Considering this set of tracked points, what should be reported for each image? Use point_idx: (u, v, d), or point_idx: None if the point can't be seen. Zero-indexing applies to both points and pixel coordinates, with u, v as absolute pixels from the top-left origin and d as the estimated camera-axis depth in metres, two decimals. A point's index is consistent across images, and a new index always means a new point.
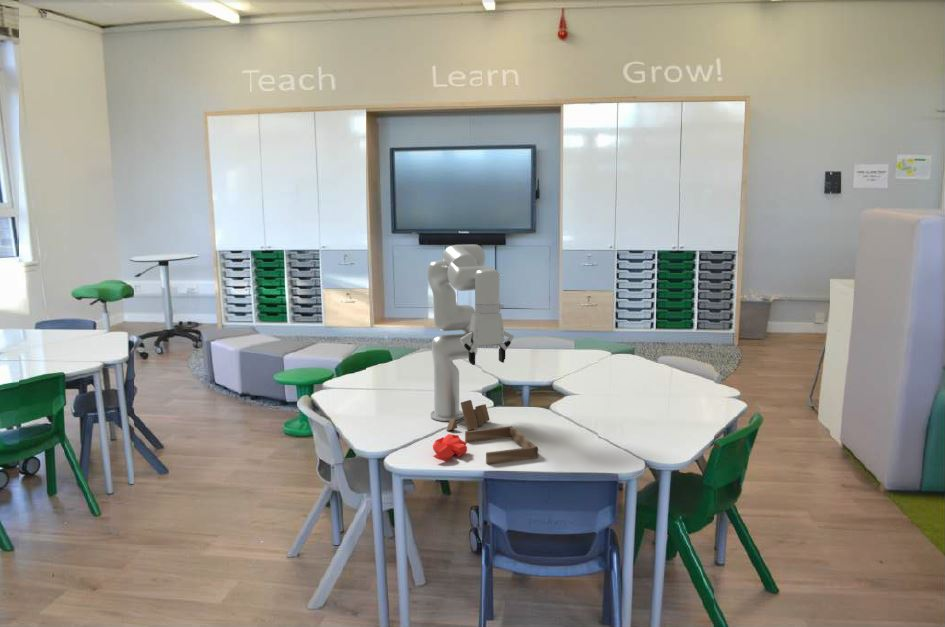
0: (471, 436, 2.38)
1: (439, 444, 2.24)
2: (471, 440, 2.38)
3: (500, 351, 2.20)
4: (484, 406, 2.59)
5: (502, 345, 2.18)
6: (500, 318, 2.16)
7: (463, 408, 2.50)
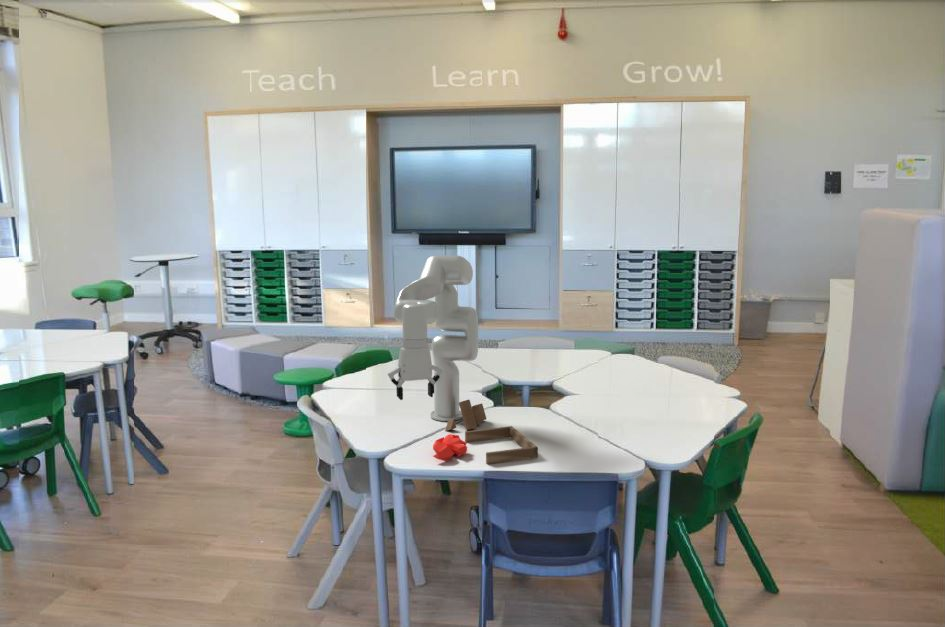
0: (471, 436, 2.38)
1: (439, 444, 2.24)
2: (471, 440, 2.38)
3: (429, 385, 2.18)
4: (481, 405, 2.60)
5: (430, 379, 2.17)
6: (428, 353, 2.15)
7: (462, 408, 2.50)
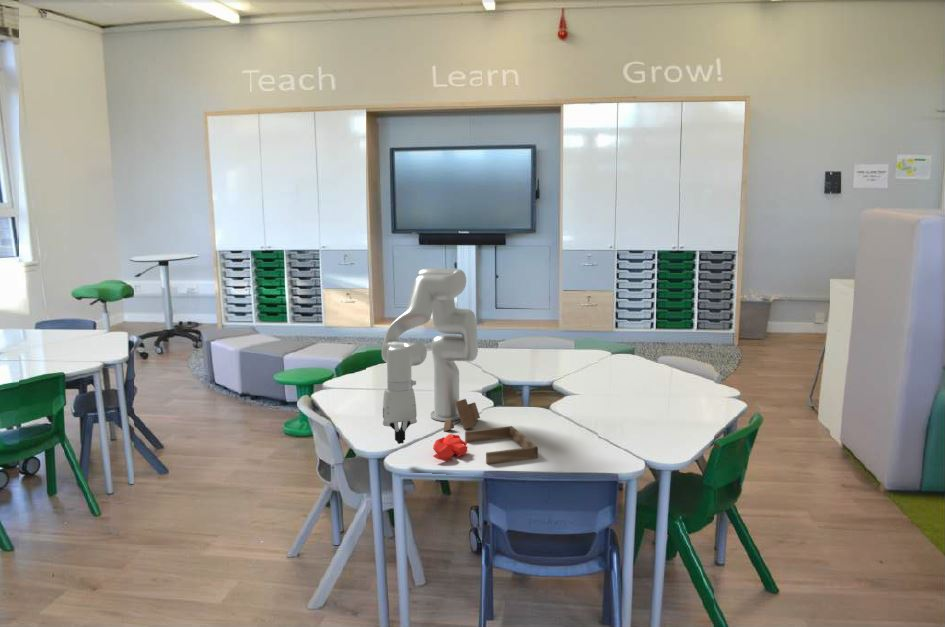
0: (471, 436, 2.38)
1: (439, 444, 2.24)
2: (471, 440, 2.38)
3: None
4: (474, 404, 2.61)
5: (404, 425, 2.17)
6: (412, 395, 2.16)
7: (459, 407, 2.51)
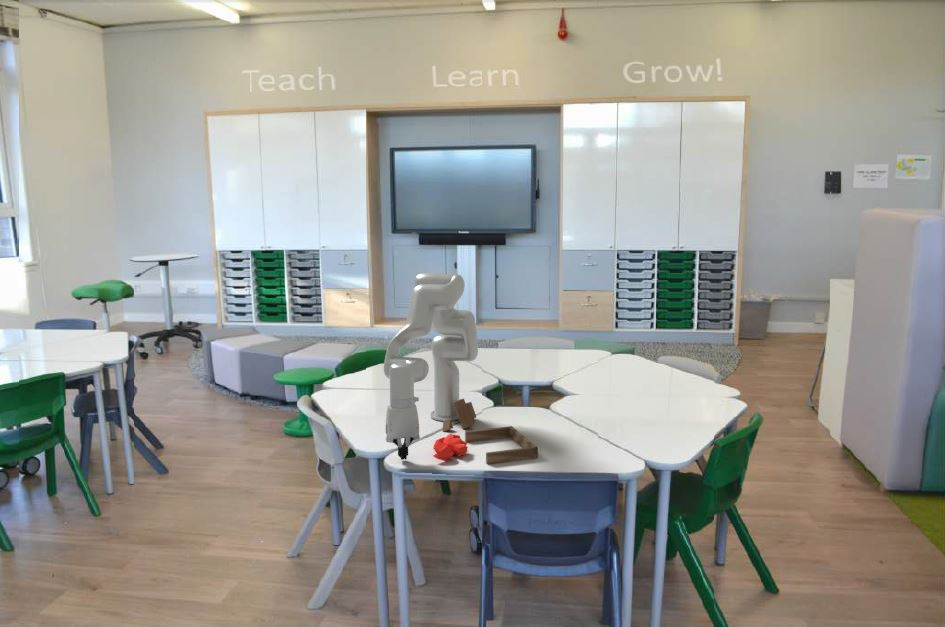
0: (471, 436, 2.38)
1: (439, 444, 2.24)
2: (471, 440, 2.38)
3: None
4: (470, 404, 2.62)
5: (407, 441, 2.19)
6: (415, 411, 2.17)
7: (457, 407, 2.51)
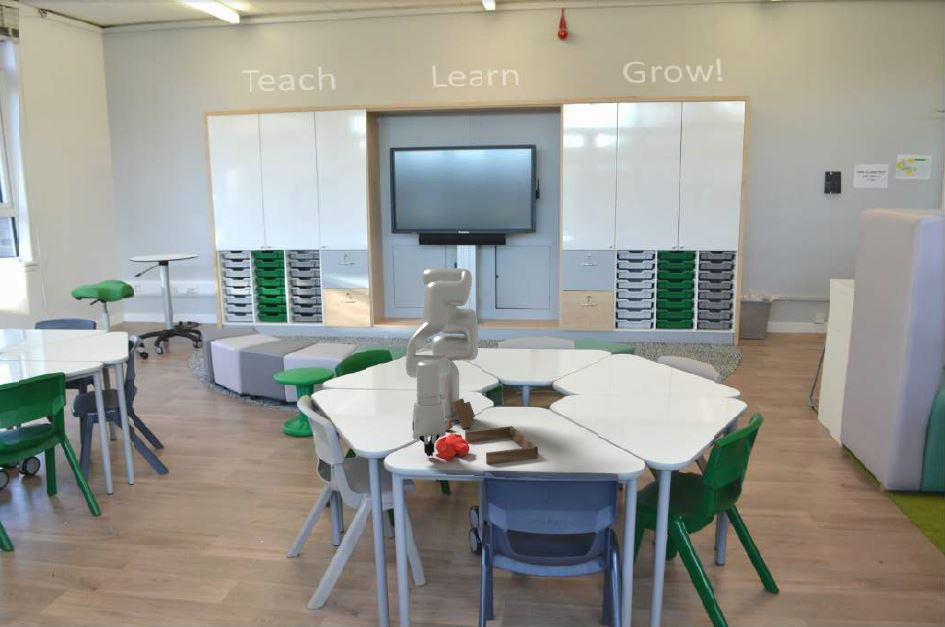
0: (471, 436, 2.38)
1: (441, 443, 2.25)
2: (471, 440, 2.38)
3: None
4: (469, 403, 2.62)
5: (434, 438, 2.22)
6: (441, 408, 2.20)
7: (457, 407, 2.51)
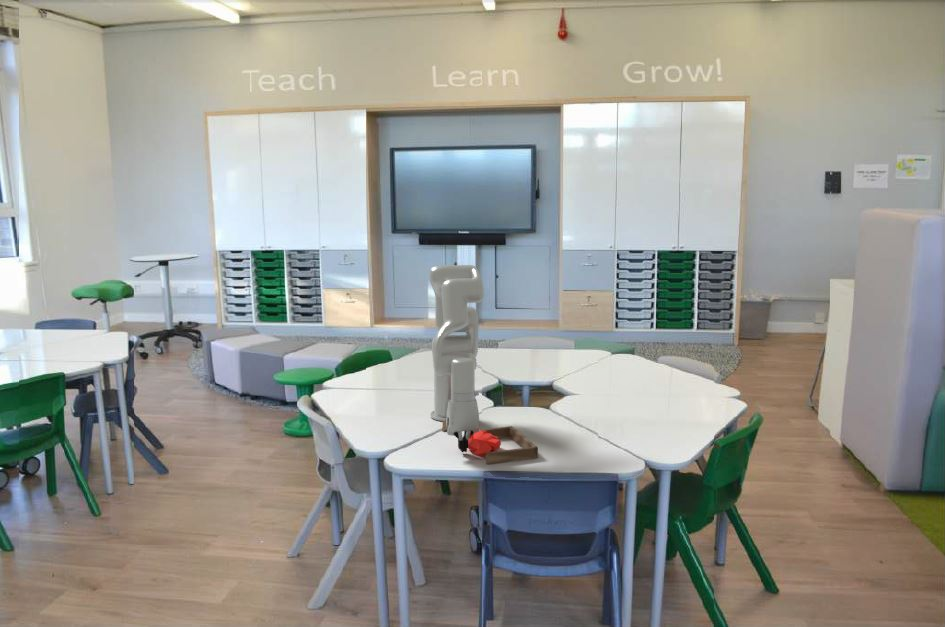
0: None
1: (474, 441, 2.27)
2: None
3: None
4: None
5: (468, 434, 2.25)
6: (475, 405, 2.24)
7: None
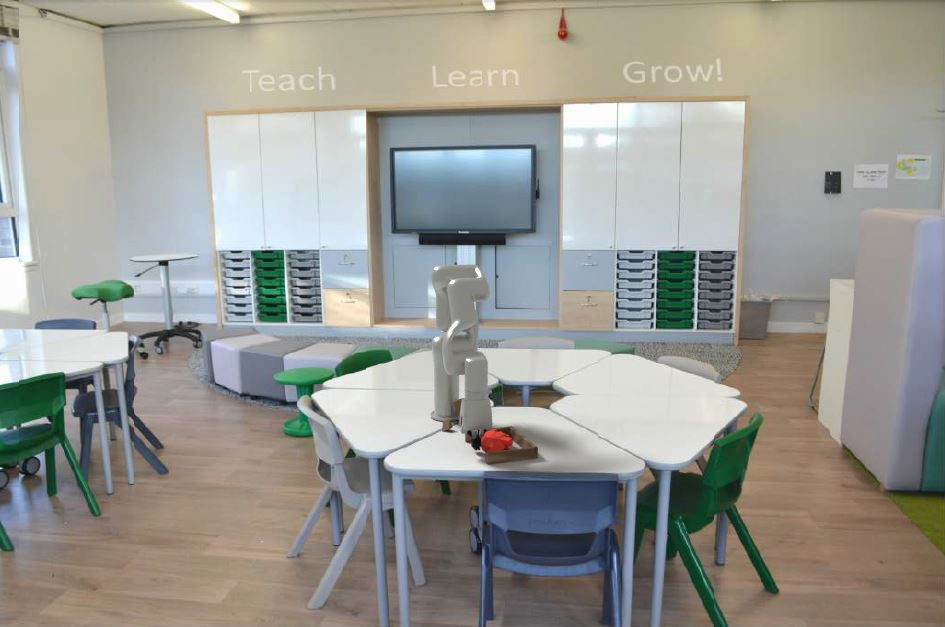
0: None
1: (487, 439, 2.29)
2: None
3: None
4: None
5: (481, 432, 2.26)
6: (488, 403, 2.25)
7: (457, 407, 2.51)
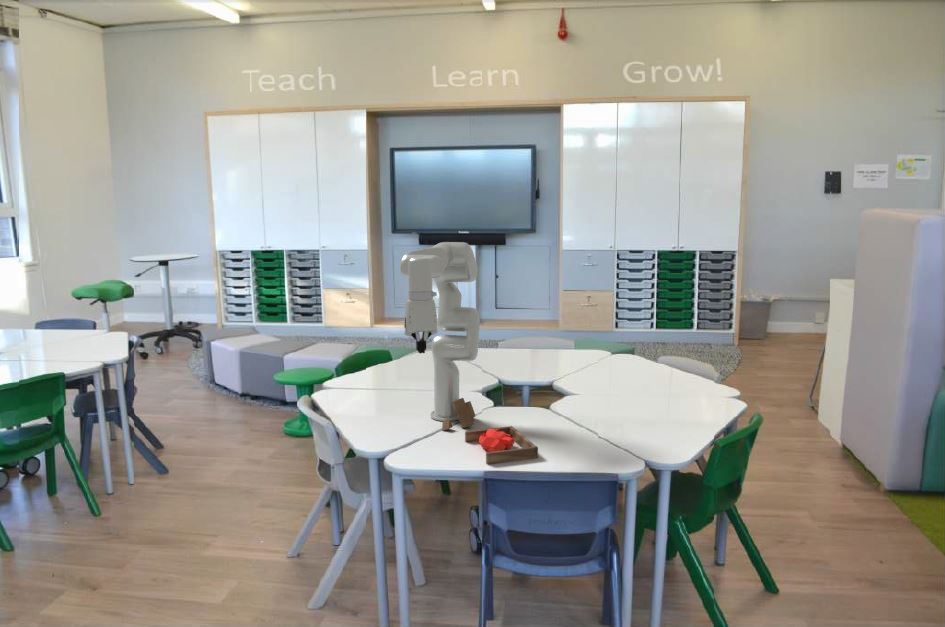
0: (471, 436, 2.38)
1: (488, 439, 2.29)
2: (471, 440, 2.38)
3: None
4: (470, 403, 2.63)
5: (426, 335, 2.23)
6: (433, 305, 2.22)
7: (457, 406, 2.52)
